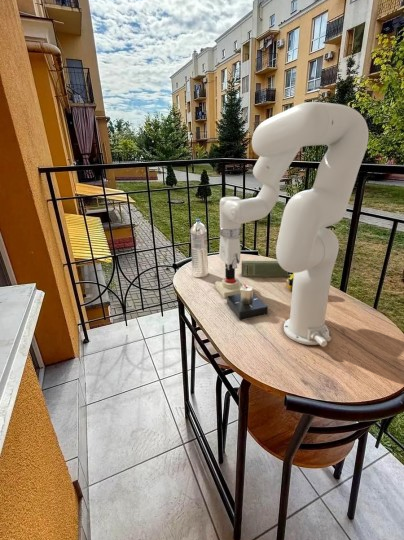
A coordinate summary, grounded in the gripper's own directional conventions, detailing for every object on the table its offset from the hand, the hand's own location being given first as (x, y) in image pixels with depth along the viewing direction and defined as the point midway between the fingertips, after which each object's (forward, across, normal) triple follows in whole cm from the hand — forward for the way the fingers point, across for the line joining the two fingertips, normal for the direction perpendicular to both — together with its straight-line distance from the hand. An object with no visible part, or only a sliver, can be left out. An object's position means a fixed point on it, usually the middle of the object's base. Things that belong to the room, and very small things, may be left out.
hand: (230, 277), depth 107 cm
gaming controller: (+5, +10, +26) cm, 29 cm away
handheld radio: (+6, -6, +21) cm, 23 cm away
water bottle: (+6, -18, -7) cm, 20 cm away
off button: (+2, 0, 0) cm, 2 cm away
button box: (+5, 0, 0) cm, 5 cm away
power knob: (+2, +15, 0) cm, 15 cm away
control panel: (+5, +15, 0) cm, 16 cm away
